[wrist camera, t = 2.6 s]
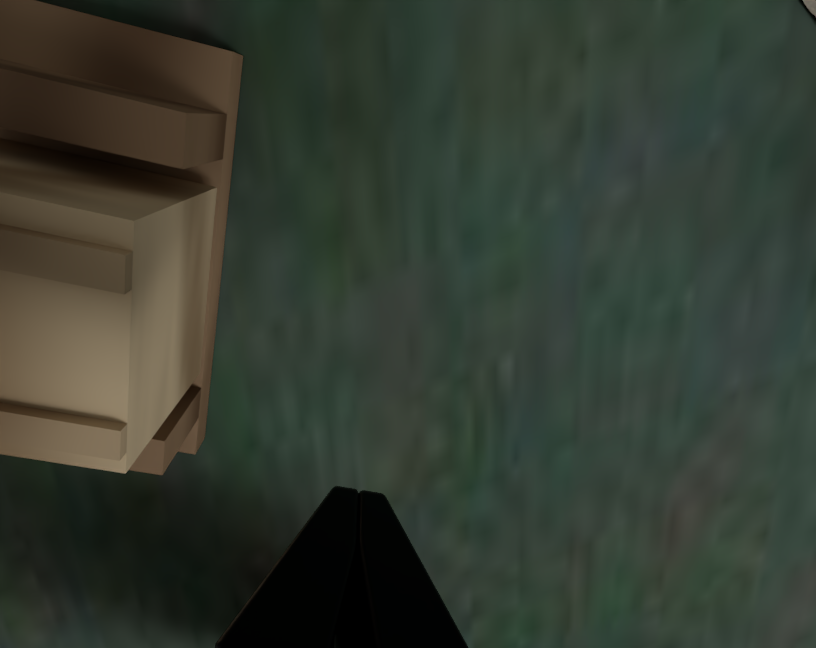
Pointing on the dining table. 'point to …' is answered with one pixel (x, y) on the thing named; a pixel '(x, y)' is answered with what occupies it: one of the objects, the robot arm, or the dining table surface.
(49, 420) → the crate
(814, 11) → the condiment
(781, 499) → the dining table surface
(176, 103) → the bay
